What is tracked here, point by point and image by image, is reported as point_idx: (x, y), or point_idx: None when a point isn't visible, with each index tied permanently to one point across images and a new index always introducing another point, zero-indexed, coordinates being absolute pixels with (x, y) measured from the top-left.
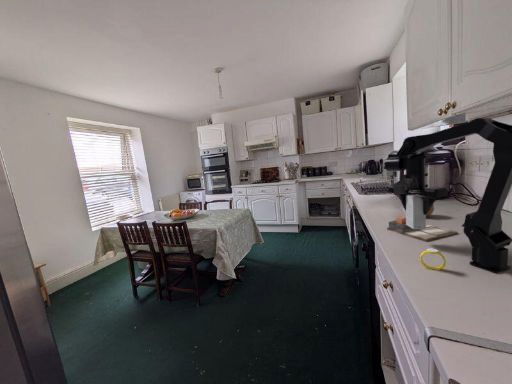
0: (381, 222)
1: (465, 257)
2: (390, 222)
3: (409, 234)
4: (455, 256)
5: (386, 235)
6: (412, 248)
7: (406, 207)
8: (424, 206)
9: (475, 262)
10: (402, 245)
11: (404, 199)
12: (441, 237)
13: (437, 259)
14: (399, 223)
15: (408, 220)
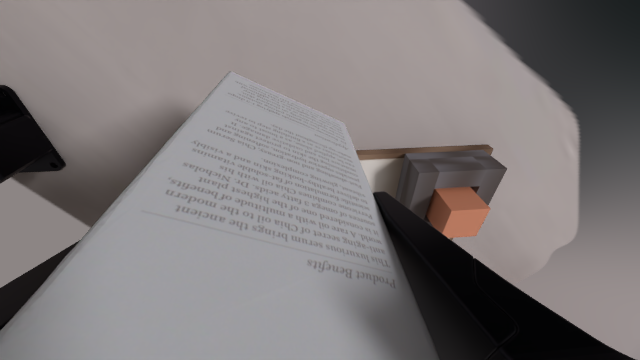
0: (548, 191)
1: (95, 136)
2: (494, 168)
3: (369, 156)
4: (108, 114)
5: (447, 73)
6: (241, 27)
7: (371, 218)
8: (21, 290)
9: (6, 109)
10: (298, 17)
11: (460, 337)
12: None
13: (70, 6)
14: (448, 186)
15: (308, 123)
